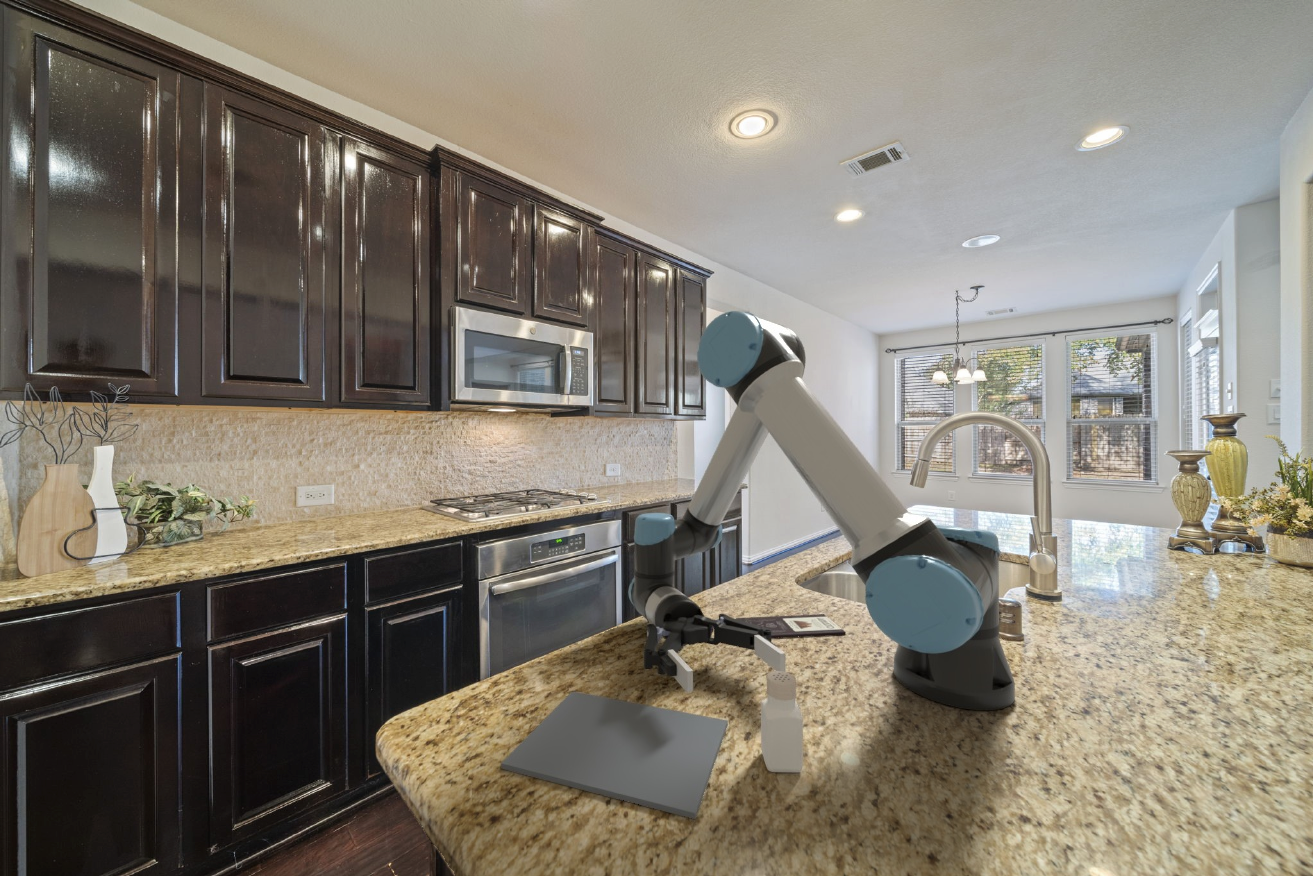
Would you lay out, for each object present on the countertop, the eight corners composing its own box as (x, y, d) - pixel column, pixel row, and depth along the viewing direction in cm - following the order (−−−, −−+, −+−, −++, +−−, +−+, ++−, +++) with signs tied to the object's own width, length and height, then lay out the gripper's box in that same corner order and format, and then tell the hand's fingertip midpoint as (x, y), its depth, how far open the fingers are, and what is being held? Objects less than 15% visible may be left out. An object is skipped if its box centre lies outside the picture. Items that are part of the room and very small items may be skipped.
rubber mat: (727, 725, 62) (727, 720, 62) (695, 819, 46) (695, 813, 46) (572, 695, 69) (572, 691, 69) (500, 768, 54) (500, 763, 54)
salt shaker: (760, 750, 57) (759, 668, 57) (795, 751, 56) (794, 669, 56) (766, 774, 53) (766, 686, 53) (804, 775, 52) (804, 686, 52)
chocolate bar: (736, 618, 96) (823, 614, 98) (736, 622, 96) (823, 618, 98) (749, 636, 87) (845, 632, 89) (749, 642, 87) (845, 637, 89)
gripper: (739, 627, 87) (817, 683, 67) (602, 649, 78) (647, 721, 59) (739, 585, 87) (817, 629, 67) (602, 602, 78) (646, 659, 59)
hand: (738, 672), depth 63 cm, fingers open, 13 cm apart
